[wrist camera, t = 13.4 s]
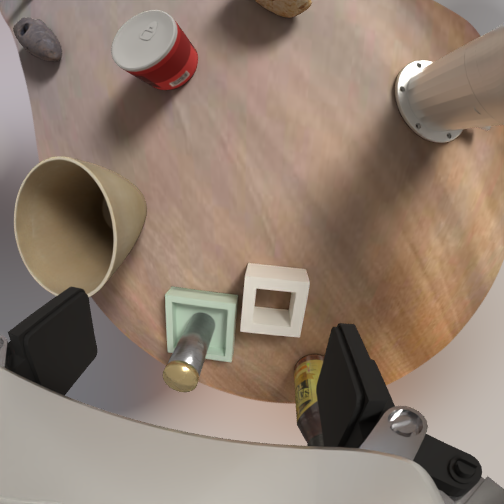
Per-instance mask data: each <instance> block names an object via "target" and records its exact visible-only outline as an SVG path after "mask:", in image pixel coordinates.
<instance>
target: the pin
mask: <svg viewBox="0 0 504 504" xmlns="http://www.w3.org/2000/svg"><path fill="white" fill-rule="evenodd" d="M214 330H215V321H214V319H213V318H212V317H211V316H210V315H208V314H206V313H203V312H199V313H195V314H193V315H192V316H191V318H190V320H189V322H188V324H187V326H186V328H185V330H184V332H183V334H182V336H181V338H180V340H179V342H178V344H177V346H176V348H175V350H174V352H173V354H172V356H171V358H170V360H169V362H168V364H167V365H166V367H165V369H164V371H163V379H164V381H165V383H166V384H167V385H168V386H169V387H171V388H172V389H174V390H176V391H179V392H190V391H192V390H194V389H195V388H196V386H197V383H198V380H199V376H200V372H201V369H202V366H203V363H204V360H205V357H206V354H207V351H208V348H209V345H210V342H211V339H212V336H213V333H214Z"/></svg>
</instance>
